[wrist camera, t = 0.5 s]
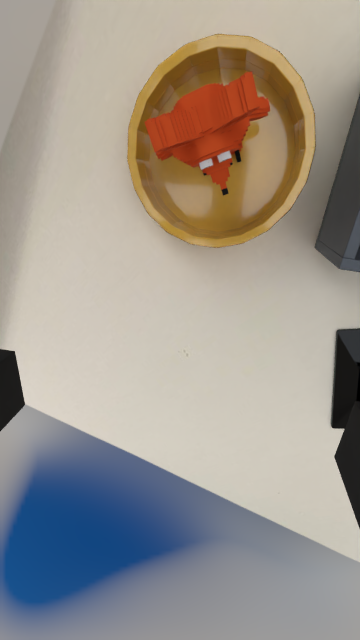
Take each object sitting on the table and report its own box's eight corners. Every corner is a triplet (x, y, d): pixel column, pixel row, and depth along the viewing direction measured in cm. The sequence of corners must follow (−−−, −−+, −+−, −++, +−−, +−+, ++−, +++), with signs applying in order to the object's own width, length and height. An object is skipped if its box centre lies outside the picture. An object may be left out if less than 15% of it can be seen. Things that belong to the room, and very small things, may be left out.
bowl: (148, 51, 24) (131, 26, 20) (324, 66, 23) (343, 42, 19) (139, 227, 30) (124, 234, 26) (279, 247, 29) (287, 258, 25)
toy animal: (185, 206, 28) (154, 223, 17) (164, 141, 26) (115, 116, 16) (275, 173, 26) (302, 168, 15) (258, 100, 24) (277, 36, 13)
